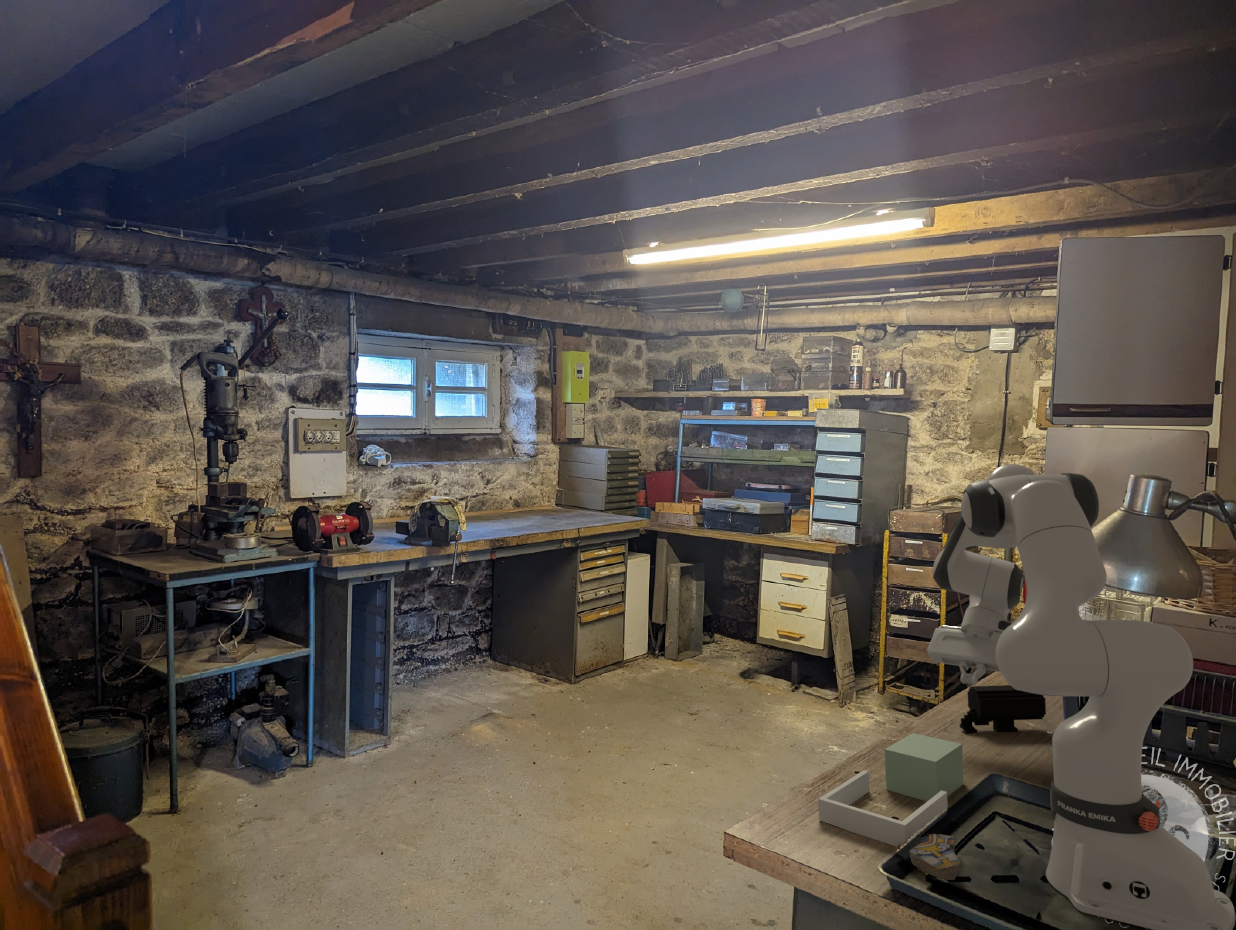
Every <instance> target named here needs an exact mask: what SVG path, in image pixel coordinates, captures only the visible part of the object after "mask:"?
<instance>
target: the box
mask: <svg viewBox="0 0 1236 930" xmlns="http://www.w3.org/2000/svg"><path fill="white" fill-rule="evenodd" d="M870 787H871V786H870V772H869V770H865V769H863V770H862V771H860V772H858V773H857V774H855V775H854V776H852V777H850V778H849V779H847V780H845V782H842V783H841V784H839V785H838V786H836V787H834V788H833V789H831V790H830V791H828V792H827V793H826V794H824V795H822V796H820V797H819V798H817V799H818V800H817V801H818V821H819V820H821V821H824V822H828V823H830V824H832V825H834V826H833V827H835V826H838V827H840V828H839V829H841V828H842V829H841V830H844V829H845V830H844V831H847V830H848V832H851V833H854V834H857V835H861V836H864V837H867V838H869V839H872V840H874V841H877V842H881V843H885V844H888V845H890V846H894V847H896V846H897V845H898V843H900V842H903V841H907V840H908V839H910V838H911V836H913V835H914V833H916V832H917V831H918V830H920V829H921V828H923V827H924V826H925V825H926V824H927V823H928V822H930V821H931V820H932V819H934V817H935V816H936V815H938V814H939V813H941V812H942V811H943V810H944V809H946V808H947V807H948V797H947V792H945V791H942V790H941V791H940V792H939V793H938V794H936V795H935V796H934V797H932V798H931V799H930V800H929V801H925V803H924V804H922V805H921V806H920V807H918V808H917V809H916V810H915V811H914V812H912V813H910V815H908V816H907V817H905V818H904V819H903V820H902V821H901V820H898V819H896V818H892V817H888V816H886V815H881V814H879V813H875V812H873V811H868V810H865V809H862V808H859V807H855V806H852V805H853V804H854V803H856V802H857V801H859V800H860V799H862V798H863V797H864V796H863V795H865V794H866V793H867V792H869V791H871V790H870ZM869 793H870V792H869ZM866 795H867V794H866ZM866 795H865V796H866ZM862 796H863V797H862ZM861 797H862V798H861ZM859 798H860V799H859ZM858 799H859V800H858ZM856 800H857V801H856ZM855 801H856V802H855ZM853 802H854V803H853ZM852 803H853V804H852ZM849 805H850V806H849ZM948 808H949V807H948ZM832 825H831V826H832ZM838 827H837V828H838Z"/></svg>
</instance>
